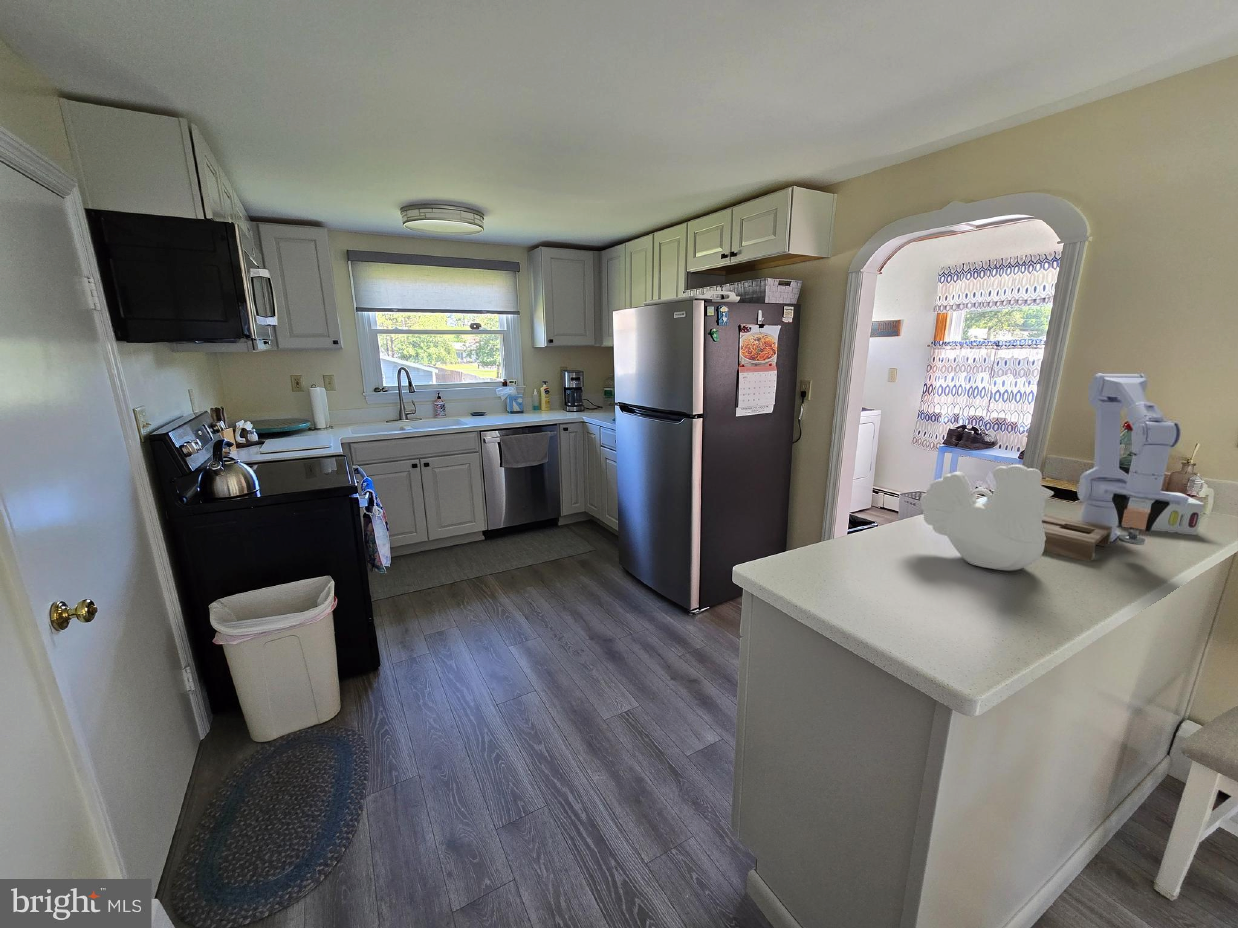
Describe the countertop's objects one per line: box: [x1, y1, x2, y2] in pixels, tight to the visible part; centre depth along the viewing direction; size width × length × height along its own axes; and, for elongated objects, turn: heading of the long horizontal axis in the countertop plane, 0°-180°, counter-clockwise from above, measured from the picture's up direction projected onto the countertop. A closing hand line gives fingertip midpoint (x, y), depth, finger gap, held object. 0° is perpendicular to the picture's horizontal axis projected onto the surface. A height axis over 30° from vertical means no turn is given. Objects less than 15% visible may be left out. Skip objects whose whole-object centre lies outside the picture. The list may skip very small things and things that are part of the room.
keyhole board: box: [1042, 513, 1113, 562], centre depth 131 cm, size 18×16×5 cm
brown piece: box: [1118, 506, 1150, 546], centre depth 119 cm, size 4×4×8 cm
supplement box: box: [1117, 490, 1205, 536], centre depth 145 cm, size 17×13×9 cm
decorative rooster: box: [919, 464, 1055, 571], centre depth 119 cm, size 25×16×25 cm, turn 29°
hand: (1134, 527), depth 119 cm, fingers closed on brown piece, 4 cm apart
